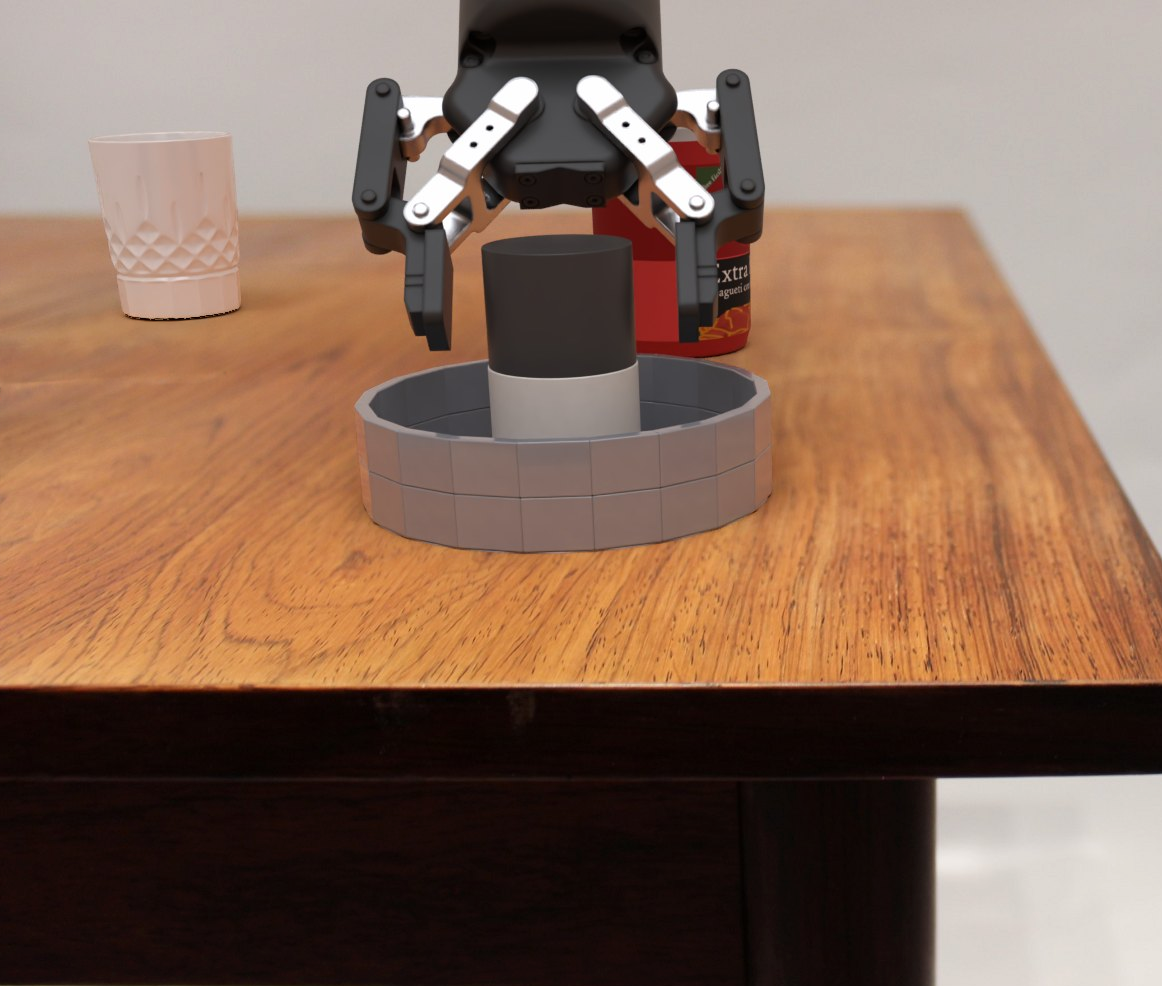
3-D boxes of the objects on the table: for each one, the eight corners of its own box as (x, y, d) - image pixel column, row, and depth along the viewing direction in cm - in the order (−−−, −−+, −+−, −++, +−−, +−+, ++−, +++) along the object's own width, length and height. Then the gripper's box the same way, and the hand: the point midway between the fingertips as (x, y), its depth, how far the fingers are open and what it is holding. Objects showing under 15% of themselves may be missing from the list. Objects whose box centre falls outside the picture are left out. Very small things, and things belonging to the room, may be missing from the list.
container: (489, 513, 56) (471, 256, 53) (502, 473, 61) (486, 235, 58) (642, 509, 56) (632, 252, 53) (643, 469, 61) (634, 232, 58)
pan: (333, 574, 52) (320, 448, 50) (398, 459, 65) (389, 357, 64) (784, 560, 52) (783, 435, 51) (758, 449, 65) (757, 347, 64)
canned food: (724, 363, 81) (719, 128, 78) (573, 356, 84) (561, 128, 80) (771, 334, 88) (768, 117, 84) (630, 328, 91) (621, 117, 87)
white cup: (244, 318, 96) (223, 138, 93) (101, 325, 95) (75, 143, 92) (257, 297, 103) (238, 129, 100) (125, 303, 102) (101, 133, 99)
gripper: (744, 46, 67) (767, 388, 60) (388, 54, 67) (370, 400, 60) (750, -106, 60) (777, 261, 54) (353, -98, 60) (328, 273, 53)
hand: (562, 334), depth 57 cm, fingers open, 8 cm apart
